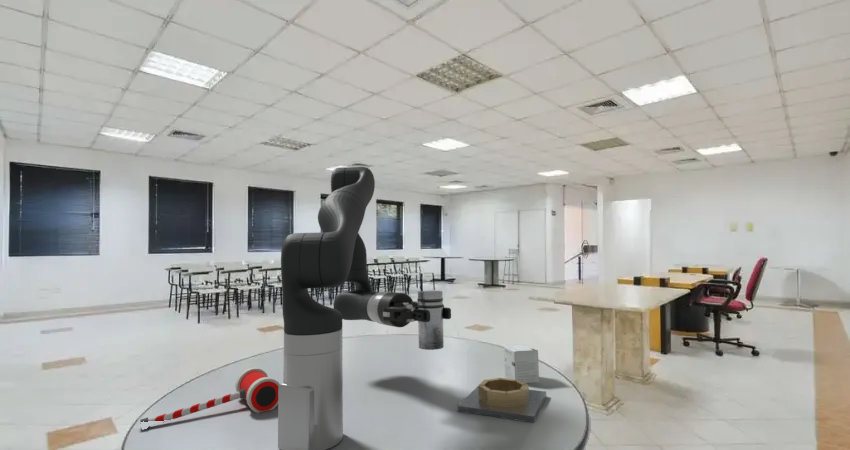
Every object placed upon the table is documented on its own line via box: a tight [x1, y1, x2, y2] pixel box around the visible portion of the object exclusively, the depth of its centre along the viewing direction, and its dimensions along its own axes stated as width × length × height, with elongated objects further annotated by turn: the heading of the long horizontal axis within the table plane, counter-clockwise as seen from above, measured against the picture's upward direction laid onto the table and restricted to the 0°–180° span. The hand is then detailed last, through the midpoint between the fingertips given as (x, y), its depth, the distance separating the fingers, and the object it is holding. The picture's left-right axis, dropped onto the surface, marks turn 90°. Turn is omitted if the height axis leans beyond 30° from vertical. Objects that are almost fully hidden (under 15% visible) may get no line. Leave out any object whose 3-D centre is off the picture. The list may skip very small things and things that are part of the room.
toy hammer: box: [139, 366, 281, 422], centre depth 76 cm, size 23×12×6 cm, turn 127°
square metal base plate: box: [457, 377, 547, 423], centre depth 77 cm, size 14×14×4 cm
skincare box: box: [503, 344, 540, 384], centre depth 92 cm, size 6×6×7 cm
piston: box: [416, 290, 445, 351], centre depth 79 cm, size 5×5×11 cm
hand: (439, 315), depth 77 cm, fingers closed on piston, 5 cm apart
